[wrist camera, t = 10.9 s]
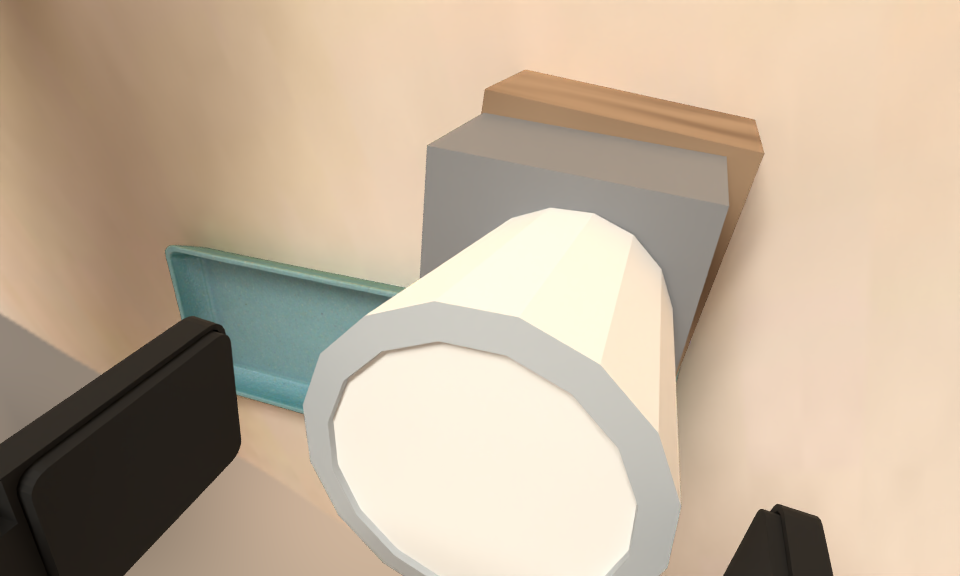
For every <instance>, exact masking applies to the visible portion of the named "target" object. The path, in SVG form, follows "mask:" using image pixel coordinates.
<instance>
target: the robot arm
mask: <svg viewBox="0 0 960 576" xmlns="http://www.w3.org/2000/svg"><path fill="white" fill-rule="evenodd" d="M240 445H241V434H240V425H239V415H238V405H237V395H236V386H235V376H234V366H233V357H232V347H231V340H230V338H229V336H228V335H226V333H225V329H224V328H223V326H222V325H220V324H217V323H214V322H211V321H208V320H204V319H201V318H198V317H195V316H188V317H186V318H184V319H183V320H181V321H180V322H178V323H177V324H175V325H174V326H172V327H171V328H169V329H168V330H166V331H165V332H163V333H162V334H161V335H159V336H158V337H156V338H155V339H153V340H152V341H150V342H149V343H147V344H146V345H144V346H143V347H142V348H140V349H139V350H137V351H136V352H134V353H133V354H131V355H130V356H128V357H127V358H125V359H124V360H122V361H121V362H120V363H118V364H117V365H115V366H114V367H112V368H111V369H109V370H108V371H106V372H105V373H103V374H102V375H100V376H99V377H98V378H96V379H95V380H93V381H92V382H90V383H89V384H87V385H86V386H85V387H83V388H81V389H80V390H79V391H77V392H76V393H74V394H73V395H71V396H70V397H69V398H67V399H65V400H64V401H62V402H61V403H59V404H58V405H57V406H55V407H54V408H52V409H51V410H49V411H48V412H46V413H45V414H43V415H42V416H41V417H39V418H37V419H36V420H35V421H33V422H32V423H30V424H29V425H27V426H26V427H25V428H23V429H21V430H20V431H19V432H17V433H16V434H14V435H13V436H11V437H10V438H8V439H7V440H5V441H4V442H2V443H1V444H0V576H124V575H125V573H126V572H127V571H128V570H129V569H130V568H131V567H132V566H133V565H134V564H135V563H136V562H137V561H138V560H139V559H140V558H141V557H142V555H143V554H144V553H145V552H146V551H147V550H148V549H149V548H150V547H151V546H152V545H153V544H154V543H155V542H156V541H157V540H158V539H159V538H160V536H162V534H163V533H164V532H165V531H166V530H167V529H168V528H169V527H170V526H171V525H172V524H173V523H174V522H175V521H176V520H177V519H178V518H179V516H180V515H181V514H182V513H183V512H184V511H185V510H186V509H187V508H188V507H189V506H190V505H191V504H192V503H193V502H194V501H195V500H196V498H198V497H199V495H200V494H201V493H202V492H203V491H204V490H205V489H206V488H207V487H208V486H209V485H210V484H211V483H212V482H213V481H214V480H215V479H216V478H217V476H218V475H219V474H220V473H221V472H222V471H223V470H224V469H225V468H226V467H227V466H228V465H229V464H230V463H231V462H232V461H233V459H234V458H235V457H236V455H237V453H238V451H239V449H240ZM723 576H833V572H832V568H831V563H830V558H829V553H828V549H827V544H826V539H825V534H824V530H823V525H822V523H821V520H820V519H819V518H818V517H817V516H814V515H811V514H808V513H805V512H802V511H799V510H796V509H792V508H789V507H786V506H783V505H780V504H776V505H775V506H774V507H773V508H772V510H771V511H767V510H764V509H760V510H759V511H758V512H757V514H756V516H755V517H754V519H753V521H752V523H751V525H750V527H749V529H748V530H747V532H746V534H745V536H744V538H743V540H742V542H741V544H740V545H739V547H738V549H737V551H736V553H735V555H734V557H733V558H732V560H731V562H730V564H729V566H728V568H727V570H726V572H725V573H724V575H723Z"/></svg>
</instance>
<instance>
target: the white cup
mask: <svg viewBox="0 0 960 576" xmlns="http://www.w3.org/2000/svg"><path fill="white" fill-rule="evenodd" d="M303 411H304V418H305V426H306V433H307V440H308V448H309V455H310V462H311V464H312V465H313V467H314V469H315V471H316V473H317V475H318V477H319V479H320V481H321V483H322V485H323V487H324V488H325V490H326V492H327V494H328V496H329V498H330V500H331V502H332V504H333V506H334V508H335V510H336V511H337V513H338V515H339V516H340V517H341V518H342V520H343V521H344V522H345V523H346V524H347V525H348V526H349V527H350V528H351V529H352V530H353V531H354V532H355V533H356V534H357V536H358V537H359V538H360V539H361V540H362V541H363V542H364V543H365V544H366V545H367V546H368V547H369V548H370V549H371V550H372V552H374V554H375V555H376V556H377V557H378V558H379V559H380V560H381V561H382V562H383V563H384V564H386V565H387V566H389V567H390V568H392V569H393V570H395V571H397V572H398V573H400V574H401V575H403V576H660V575H661V574H662V573H663V572H664V571H665V570H666V569H667V568H668V563H669V559H670V554H671V550H672V545H673V541H674V536H675V532H676V527H677V523H678V518H679V514H680V510H681V489H680V466H679V443H678V420H677V398H676V375H675V352H674V329H673V308H672V305H671V301H670V297H669V294H668V290H667V287H666V283H665V280H664V276H663V273H662V269H661V268H660V267H659V265H658V264H657V263H656V262H655V261H654V259H653V258H652V257H651V256H650V254H649V253H648V252H647V251H646V250H645V248H644V247H643V246H642V245H641V243H640V242H639V241H638V240H637V239H636V237H635V236H634V235H633V234H631V233H629V232H627V231H625V230H624V229H622V228H620V227H618V226H616V225H614V224H613V223H611V222H609V221H607V220H605V219H604V218H602V217H600V216H598V215H596V214H594V213H588V212H581V211H573V210H565V209H558V208H547V209H543V210H540V211H536V212H532V213H528V214H525V215H521V216H517V217H513V218H511V219H509V220H508V221H506V222H505V223H503V224H502V225H500V226H499V227H497V228H496V229H494V230H493V231H491V232H490V233H488V234H487V235H485V236H484V237H482V238H481V239H479V240H478V241H476V242H475V243H473V244H472V245H470V246H469V247H467V248H466V249H464V250H463V251H461V252H460V253H458V254H457V255H455V256H454V257H452V258H451V259H449V260H448V261H446V262H445V263H443V264H442V265H440V266H439V267H437V268H436V269H434V270H433V271H431V272H430V273H428V274H427V275H425V276H424V277H422V278H421V279H419V280H418V281H416V282H415V283H413V284H412V285H410V286H409V287H407V288H406V289H404V290H403V291H401V292H400V293H398V294H397V295H395V296H394V297H392V298H391V299H389V300H388V301H386V302H385V303H383V304H382V305H380V306H379V307H377V308H376V309H374V310H373V311H371V312H370V313H368V314H367V315H365V316H364V317H363V318H362V319H360V320H359V321H358V322H357V323H356V324H355V325H353V326H352V327H351V328H350V329H349V330H348V331H346V332H345V333H344V334H343V335H342V336H340V337H339V338H338V339H337V340H336V341H335V342H333V343H332V344H331V345H330V346H329V347H328V348H326V349H325V350H324V351H323V352H322V353H321V354H320V356H319V359H318V362H317V364H316V367H315V370H314V373H313V376H312V379H311V382H310V385H309V388H308V391H307V394H306V397H305V400H304V403H303Z"/></svg>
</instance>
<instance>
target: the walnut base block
mask: <svg viewBox="0 0 960 576" xmlns="http://www.w3.org/2000/svg"><path fill="white" fill-rule="evenodd" d="M482 113H488V114H494V115H500V116H505V117H511V118H516V119H522V120H527V121H533V122H538V123H544V124H549V125H555V126H560V127H566V128H572V129H577V130H583V131H588V132H594V133H599V134H605V135H610V136H616V137H621V138H627V139H632V140H638V141H643V142H649V143H654V144H660V145H665V146H671V147H676V148H682V149H687V150H693V151H698V152H704V153H710V154H715V155H721V156H726V157H727V173H728V193H729V208H728V211H727V214H726V217H725V221H724V224H723V227H722V230H721V233H720V236H719V239H718V243H717V246H716V249H715V252H714V255H713V258H712V261H711V265H710V268H709V271H708V274H707V277H706V280H705V283H704V287H703V290H702V293H701V296H700V299H699V302H698V305H697V309H696V312H695V315H694V318H693V321H692V324H691V327H690V331H689V334H688V337H687V340H686V343H685V346H684V349H683V353H682V356H681V359H680V362H679V365H678V368H677V372H676V376H677V373H678V371H679V368H680V366H681V363H682V361H683V358H684V356H685V353H686V351H687V348H688V346H689V343H690V340H691V338H692V335H693V333H694V330H695V328H696V325H697V323H698V320H699V318H700V315H701V313H702V310H703V308H704V305H705V302H706V300H707V297H708V295H709V292H710V290H711V287H712V285H713V282H714V280H715V277H716V275H717V272H718V269H719V267H720V264H721V262H722V259H723V257H724V254H725V252H726V249H727V247H728V244H729V242H730V239H731V236H732V234H733V231H734V229H735V226H736V224H737V221H738V219H739V216H740V214H741V211H742V209H743V206H744V204H745V201H746V198H747V196H748V193H749V191H750V188H751V186H752V183H753V181H754V178H755V176H756V173H757V171H758V168H759V165H760V163H761V160H762V158H763V155H764V151H763V147H762V143H761V140H760V136H759V133H758V129H757V126H756V122H755V120H754V119H749V118H745V117H740V116H735V115H731V114H726V113H722V112H717V111H712V110H708V109H703V108H699V107H694V106H690V105H685V104H680V103H676V102H671V101H667V100H662V99H658V98H653V97H648V96H644V95H639V94H635V93H630V92H626V91H621V90H616V89H612V88H607V87H603V86H598V85H594V84H589V83H584V82H580V81H575V80H571V79H566V78H561V77H557V76H552V75H548V74H543V73H539V72H534V71H529V70H524V71H522V72H519V73H517V74H515V75H513V76H511V77H509V78H507V79H505V80H503V81H501V82H499V83H497V84H495V85H492V86H490V87H488V88H486V89H485V92H484V99H483V106H482V112H481V114H482Z"/></svg>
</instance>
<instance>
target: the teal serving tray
mask: <svg viewBox="0 0 960 576" xmlns="http://www.w3.org/2000/svg"><path fill="white" fill-rule="evenodd" d="M165 254H166V260H167V263H168V267H169V271H170V275H171V279H172V283H173V287H174V291H175V295H176V299H177V303H178V307H179V311H180V315H181V320H183V319H184V318H186V317H188V316H195V317H198V318H201V319H204V320H208V321H211V322H214V323H217V324H220V325H222V326H223V328H224V329H225V333H226V335H228V336H229V338H230V340H231V347H232V357H233V366H234V376H235V386H236V395H239V396H242V397H246V398H250V399H253V400H257V401H260V402H264V403H267V404H271V405H274V406H278V407H281V408H285V409H288V410H292V411H295V412H299V413H302V414H304V411H303V403H304V400H305V397H306V394H307V391H308V388H309V385H310V382H311V379H312V376H313V373H314V370H315V367H316V364H317V362H318V359H319V356H320V354H321V353H322V352H323V351H324V350H325V349H326V348H328V347H329V346H330V345H331V344H332V343H333V342H335V341H336V340H337V339H338V338H339V337H340V336H342V335H343V334H344V333H345V332H346V331H348V330H349V329H350V328H351V327H352V326H353V325H355V324H356V323H357V322H358V321H359V320H360V319H362V318H363V317H364V316H365V315H367V314H368V313H370V312H371V311H373V310H374V309H376V308H377V307H379V306H380V305H382V304H383V303H385V302H386V301H388V300H389V299H391V298H392V297H394V296H395V295H397V294H398V293H400V292H401V291H403V290H404V289H406V288H403V287H399V286H394V285H388V284H383V283H379V282H374V281H369V280H364V279H359V278H354V277H349V276H344V275H339V274H333V273H328V272H323V271H318V270H313V269H308V268H303V267H298V266H293V265H288V264H283V263H278V262H273V261H268V260H263V259H258V258H254V257H249V256H244V255H239V254H234V253H229V252H224V251H219V250H215V249H210V248H204V247H194V246H181V245H170V246H168V247H167V248H166V250H165ZM679 370H680V368H679ZM678 374H679V371H678V373H677V376H676V382H677V378H678Z"/></svg>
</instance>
